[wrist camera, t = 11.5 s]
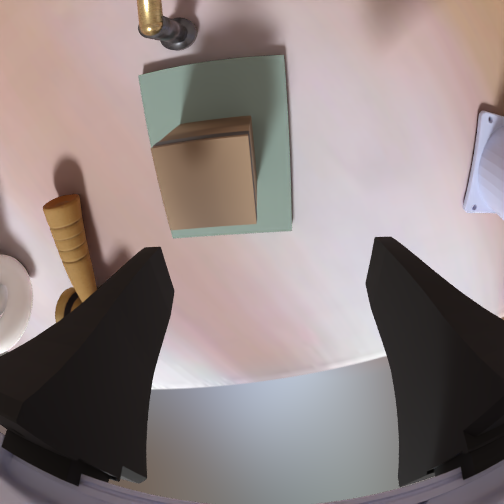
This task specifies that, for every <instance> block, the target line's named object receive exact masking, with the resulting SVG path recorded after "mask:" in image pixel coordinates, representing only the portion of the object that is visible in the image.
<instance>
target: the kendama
mask: <svg viewBox="0 0 504 504" xmlns="http://www.w3.org/2000/svg"><path fill="white" fill-rule="evenodd" d="M43 211H44V214H45V216H46V219H47V222H48V225H49V226H50V230H51V233H52V236H53V238H54V241H55V244H56V247H57V249H58V252H59V255H60V257H61V259H62V262H63V265H64V267H65V270H66V272H67V274H68V277H69V279H70V281H71V283H72V285H73V287H71V288H69V289H67V290H65V291H64V292H63V293H62V294H61V296H60V298H59V300H58V302H57V305H56V311H55V319H56V323H57V322H58V321H60V320H61V319H62V318H64V317H65V316H66V315H67V314H69V313H70V312H71V311H73V310H74V309H75V308H76V307H78V306H79V305H80V304H81V303H82V302H84V301H85V300H86V299H87V298H88V297H89V296H90V295H92V294H93V293H94V292H95V291H96V290H97V287H96V282H95V277H94V272H93V267H92V262H91V258H90V254H89V251H88V245H87V241H86V235H85V230H84V224H83V219H82V212H81V205H80V197H79V195H77V194H72V195H64V196H60V197H58V198H55V199H53V200H51V201H49V202H48V203H46V204H45V205H44V207H43Z"/></svg>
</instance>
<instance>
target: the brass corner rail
mask: <svg viewBox="0 0 504 504" xmlns="http://www.w3.org/2000/svg"><path fill="white" fill-rule="evenodd" d="M137 6H138V17H139V26H138V30H139V33H140V34H141V35H142V36H143V37H145V38H150V39H155V40H160V41H161V43H162V45H163V46H164V47H166V48H167V49H170V50H184V49H186V48H188V47H189V46H191V45H192V44H193V43H194V41H195V39H196V37H197V29H196V27H195V25H194V24H193V23H192V22H191V21H189V20H187V19H185V18H175V19H172V20H171V19H169V18H167V17H165V16H163V13H162V3H161V0H137Z"/></svg>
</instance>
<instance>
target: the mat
mask: <svg viewBox="0 0 504 504" xmlns="http://www.w3.org/2000/svg"><path fill="white" fill-rule="evenodd" d="M138 77H139V83H140V89H141V95H142V101H143V107H144V113H145V118H146V124H147V129H148V134H149V139H150V144H151V148H152V147H153V145H155V144H156V143H157V142H159V141H160V140H161V139H163V138H164V137H165V136H166V135H167V134H169V133H170V132H171V131H172V130H173V129H175V128H176V127H177V126H178V125H180V124H184V123H190V122H197V121H204V120H212V119H220V118H229V117H239V116H251V119H252V130H253V140H254V151H255V162H256V173H257V224H249V225H234V226H220V227H207V228H194V229H182V230H171V233H172V237H173V238H186V237H200V236H215V235H230V234H247V233H263V232H281V231H292V213H291V174H290V148H289V126H288V108H287V91H286V77H285V63H284V55H269V56H253V57H241V58H231V59H223V60H215V61H208V62H201V63H195V64H189V65H184V66H178V67H173V68H168V69H164V70H159V71H155V72H151V73H146V74H142V75H139V76H138Z"/></svg>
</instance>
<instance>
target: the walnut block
mask: <svg viewBox="0 0 504 504" xmlns="http://www.w3.org/2000/svg"><path fill="white" fill-rule="evenodd" d="M151 152H152V157H153V161H154V166H155V170H156V174H157V179H158V183H159V187H160V191H161V195H162V199H163V203H164V207H165V211H166V215H167V219H168V223H169V227H170V230H182V229H194V228H207V227H220V226H234V225H249V224H257V173H256V162H255V151H254V140H253V130H252V119H251V116H239V117H229V118H220V119H212V120H204V121H197V122H190V123H184V124H180V125H178V126H177V127H176V128H175V129H173V130H172V131H171V132H170V133H169V134H167V135H166V136H165V137H164V138H163V139H161V140H160V141H159V142H157V143H156V144H155V145H153V147H152V148H151Z"/></svg>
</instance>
